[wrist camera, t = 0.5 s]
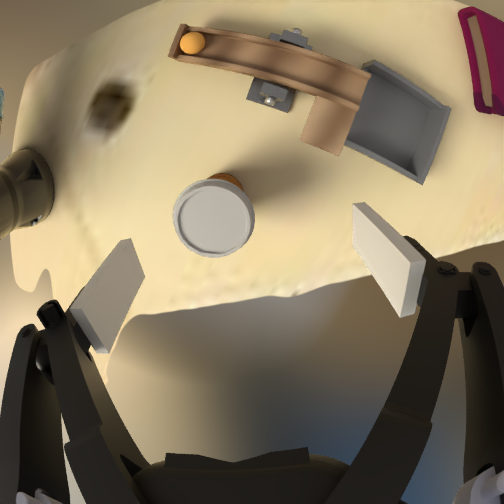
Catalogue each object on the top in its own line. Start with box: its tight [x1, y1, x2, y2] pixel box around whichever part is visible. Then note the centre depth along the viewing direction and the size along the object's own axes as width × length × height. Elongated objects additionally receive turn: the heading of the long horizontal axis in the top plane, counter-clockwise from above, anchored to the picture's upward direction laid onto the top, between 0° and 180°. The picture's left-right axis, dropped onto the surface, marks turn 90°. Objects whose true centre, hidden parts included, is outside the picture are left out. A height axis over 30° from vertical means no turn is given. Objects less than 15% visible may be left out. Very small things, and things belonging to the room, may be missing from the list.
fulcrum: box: [246, 28, 312, 113], centre depth 30 cm, size 6×11×7 cm, turn 162°
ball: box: [180, 32, 205, 54], centre depth 27 cm, size 3×3×3 cm
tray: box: [344, 60, 451, 185], centre depth 33 cm, size 14×14×5 cm
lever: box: [168, 24, 371, 156], centre depth 28 cm, size 24×11×3 cm, turn 72°
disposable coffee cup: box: [173, 173, 255, 258], centre depth 36 cm, size 10×10×12 cm
